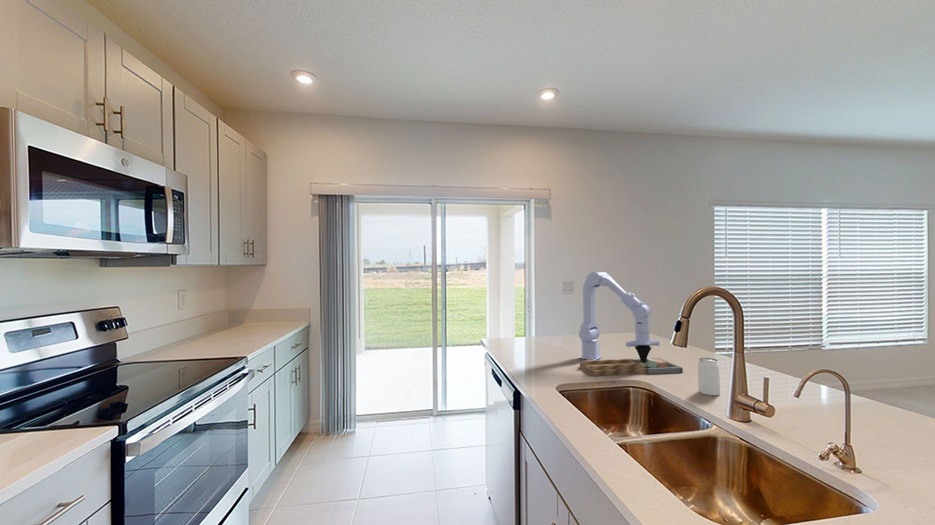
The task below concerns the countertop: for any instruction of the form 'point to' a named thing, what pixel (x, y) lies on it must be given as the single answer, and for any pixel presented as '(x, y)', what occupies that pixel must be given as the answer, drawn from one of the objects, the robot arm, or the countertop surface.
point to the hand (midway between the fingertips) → (643, 362)
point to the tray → (669, 369)
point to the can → (708, 376)
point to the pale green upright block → (650, 363)
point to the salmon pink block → (660, 363)
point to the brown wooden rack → (613, 367)
